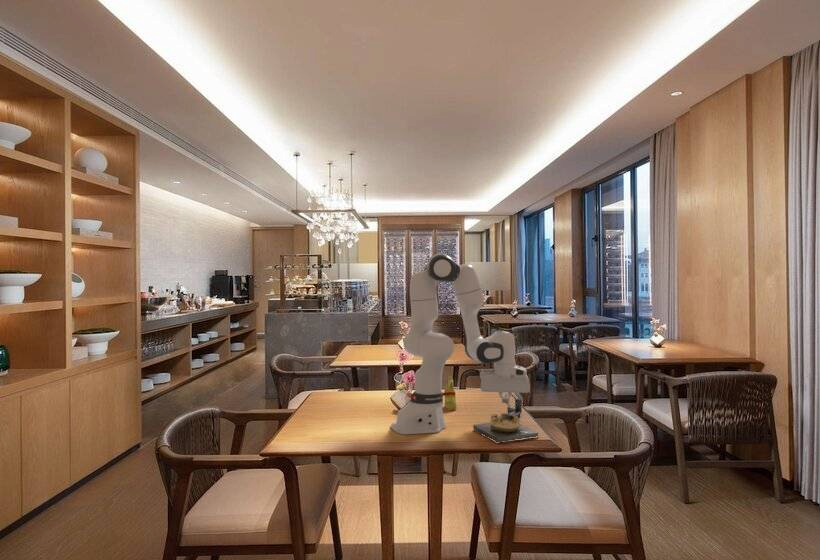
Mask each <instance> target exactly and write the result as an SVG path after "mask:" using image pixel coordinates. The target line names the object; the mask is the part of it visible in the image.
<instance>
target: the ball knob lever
mask: <svg viewBox="0 0 820 560" xmlns="http://www.w3.org/2000/svg"><path fill="white" fill-rule="evenodd" d="M514 407H515V411H513V412H511V413H509V414H507V412H506V413H505V412H501V415H500V416H499V415H498V414H496V413H493V414H491V415H490V422H491V429H493V430H495V431H499V432H515V431H518V430H519V424H520V419H519V417H518V416H517V415H519V414H520V415H521V414H522V413H523V412H522V411H523V410H522V407H523V403H522V400H521V399H518V398H515V399H514Z"/></svg>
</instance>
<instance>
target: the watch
mask: <svg viewBox="0 0 820 560" xmlns="http://www.w3.org/2000/svg"><path fill="white" fill-rule="evenodd" d="M514 394H515V397H516V399H521V400H522V404H523V403H524V402H523V401H524V399H523V396H522V395H521V394H520V393H516V392H514ZM507 397H508V392H505V395H504V398H507ZM509 403H510V402H509ZM509 403H505V404H506V405H507V410H506V411H507V412H508V414H509V413H511V412H513V411H515V406H511V405H510V404H509ZM507 412H506V413H507ZM517 416H520V417H521V414H519V415H517Z"/></svg>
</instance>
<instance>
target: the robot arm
mask: <svg viewBox="0 0 820 560" xmlns="http://www.w3.org/2000/svg"><path fill="white" fill-rule="evenodd" d="M439 282H450V283H451V284H452V287H453V290H454V294H455V297H456V301H457V305H458V307H459V308H458V309H459V312H460V315H461V320H462V325H463V331H464V333H465V334H464V335H465V343H464V353H465V354H466V356H467V357H468V358H469V359H470V360H473V361H477V362H480V363H481V364H486V365H487V364H492V363H493V368H489V369H487V368H484V369H482V370H480V372H479V378H480V381H481V382H480V391H481V392H484V393H485V392H490V393H498V395H499V396H500V397H499V398H500V399H501V403H502V404H506V403H510V398H511V397H512V393H515V392H516V393H519V394H520V393H523V394H528V393H530V392H531V384H530V379H529V377H528V375H527V368H526V367H524V366H520V365H518V364H516V359H515V357H516V356H515V355H516V340H515V335H514V334H513V333H511V332H510V331H506V330H495V332H494V333H492V334H491V335H490V336H488V337H485V338H484V337H483V336H482V335H481V331H480V327H479V321H478V313H479V311H480V310H481V308H482V307H483V305H484V303H485V301H484V300H485V299H484V291H483V288H482V285H481V281H480V278H479V275H478V273H477V271H476V270H475V268H474V266H473V265H472V264H469V263H468V264H467V263H464V264H463V263H462V264H458V263H457V262H456V261H455V260H454V259H453V258H452V257H451V256H450V255H448V254H446V253H444V252H439V253H435V254H433V255H432V256H430V258H429V259H428V261H427V262H426V265H425V268H424V270H422V271H418V272H415V273H414V274H413V275H412V276H411V278H410V282H409V298H410V299H409V300H410V309H411V310H410V311H411V321H410V328H409V330H408V332H407V333H406V334H405V336H404V339H403V348H404V349H405V351H406V352H407V353H409V354H410V355H412V356H414V357H419V358H422V361H421V365H420V368H418V369H417V370H416V371H415V373H414V391H413V392H410V391H408V392H407V393H406V396H407V398H409V399H410V401H409V402H407V404H406V405H404V406H403V407H402V408H401V409H399V410H398V411H397V415H396V420H395V421H394V422H392V423H391V425H390V428H391V429H392V430H393V432H394V433H397V434H399V435H405V436H406V435H419V434H434V433H440V432H441V431H442V430H444V428H446V427H447V425H446V422H445V421H446V420H445V418H444V411H443V402H444V396H443V393H444V392H443V391H442V389H443V388H442V385H443V384H442V383H443V380H442V379H443V371H444V367H445V365H446V362H447V361H448V360H449V359H450V358H451V357H452V356H453V354H454V352H455V343H454V341H453V338H451V337H450V336H448V335H447V334H444V333H441V332H434V331H433V326H434V322H435V321H436V320H437V319H439V303H438V294H437V293H438V292H437V285H438V283H439ZM507 392H508V395H507V398H505V397H503V393H507Z"/></svg>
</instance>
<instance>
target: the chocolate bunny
mask: <svg viewBox="0 0 820 560" xmlns="http://www.w3.org/2000/svg"><path fill="white" fill-rule="evenodd" d="M443 399H444V406H445V408H446V409H447V410H448V411H455V409H456V410H457V402H456V400H457V398H456V391H455V387H454V379H453V377H452V376H448V377H447V381H446V383H445V387H444V392H443Z"/></svg>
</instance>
